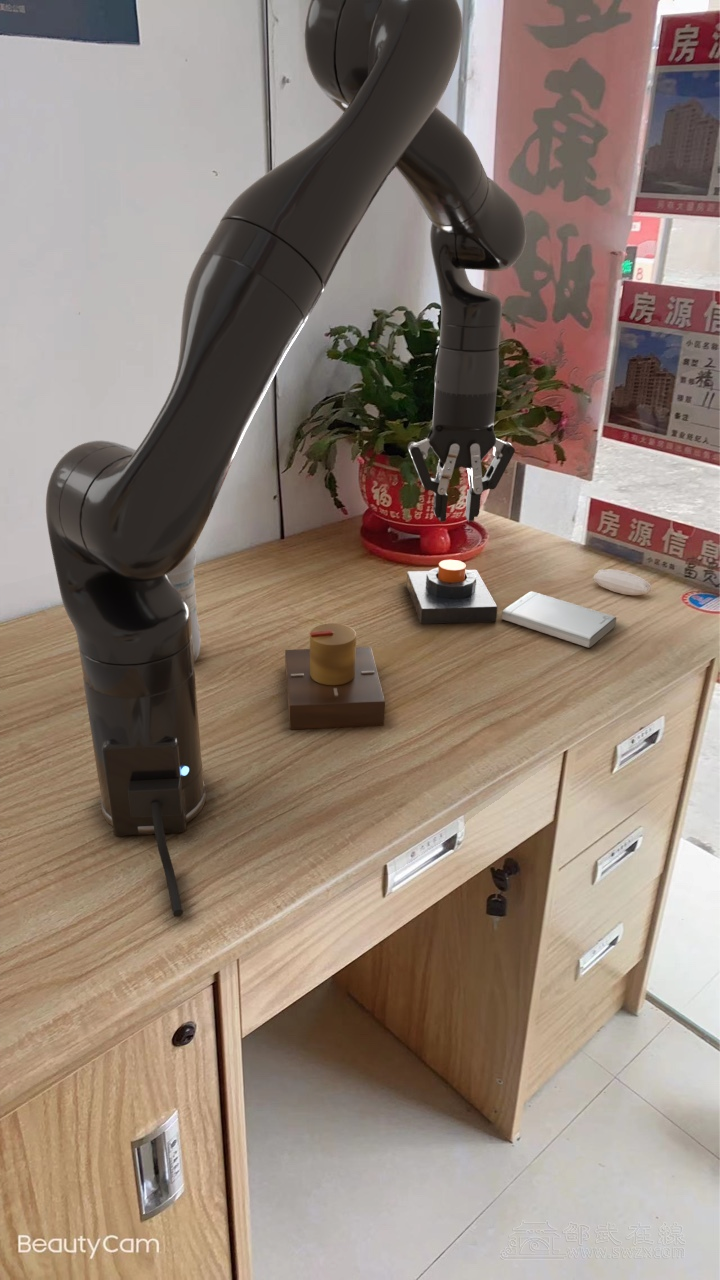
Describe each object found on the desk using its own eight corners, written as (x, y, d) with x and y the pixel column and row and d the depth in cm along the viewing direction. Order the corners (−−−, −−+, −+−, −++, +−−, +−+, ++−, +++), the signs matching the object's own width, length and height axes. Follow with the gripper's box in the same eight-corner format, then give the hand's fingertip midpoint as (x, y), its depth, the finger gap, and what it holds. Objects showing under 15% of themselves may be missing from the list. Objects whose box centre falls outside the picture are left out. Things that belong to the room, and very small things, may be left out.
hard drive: (617, 615, 115) (532, 589, 121) (590, 638, 109) (502, 609, 115) (615, 627, 115) (530, 599, 122) (588, 650, 110) (500, 620, 116)
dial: (349, 660, 100) (350, 618, 97) (360, 682, 96) (361, 639, 93) (305, 665, 99) (305, 623, 96) (315, 688, 94) (315, 644, 92)
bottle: (191, 676, 102) (178, 512, 92) (137, 669, 103) (118, 506, 93) (211, 649, 108) (201, 492, 98) (159, 643, 109) (144, 487, 99)
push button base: (495, 621, 116) (498, 594, 114) (420, 624, 115) (422, 596, 113) (475, 583, 126) (477, 557, 124) (406, 585, 125) (407, 559, 123)
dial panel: (384, 725, 94) (385, 700, 92) (289, 729, 93) (289, 704, 91) (370, 668, 104) (371, 645, 103) (285, 672, 103) (285, 648, 102)
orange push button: (467, 584, 117) (468, 569, 116) (440, 584, 117) (441, 570, 116) (461, 573, 121) (462, 559, 120) (435, 573, 120) (436, 559, 119)
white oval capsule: (597, 580, 128) (600, 562, 127) (651, 595, 124) (654, 576, 123) (588, 587, 126) (591, 569, 125) (643, 602, 122) (646, 584, 121)
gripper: (413, 392, 103) (406, 531, 111) (531, 391, 104) (516, 529, 112) (403, 378, 109) (397, 510, 117) (514, 378, 111) (501, 508, 119)
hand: (455, 518), depth 115 cm, fingers open, 3 cm apart
